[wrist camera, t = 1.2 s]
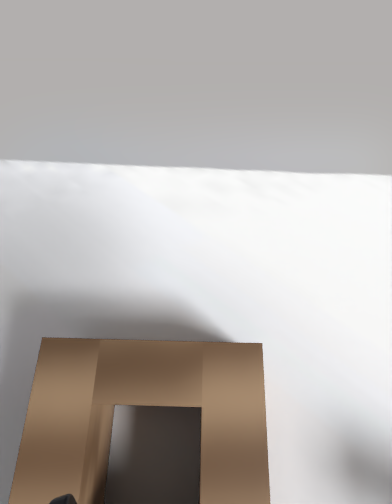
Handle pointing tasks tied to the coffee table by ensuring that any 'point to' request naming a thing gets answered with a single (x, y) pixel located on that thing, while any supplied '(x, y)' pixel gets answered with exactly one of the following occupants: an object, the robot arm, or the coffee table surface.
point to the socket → (149, 394)
